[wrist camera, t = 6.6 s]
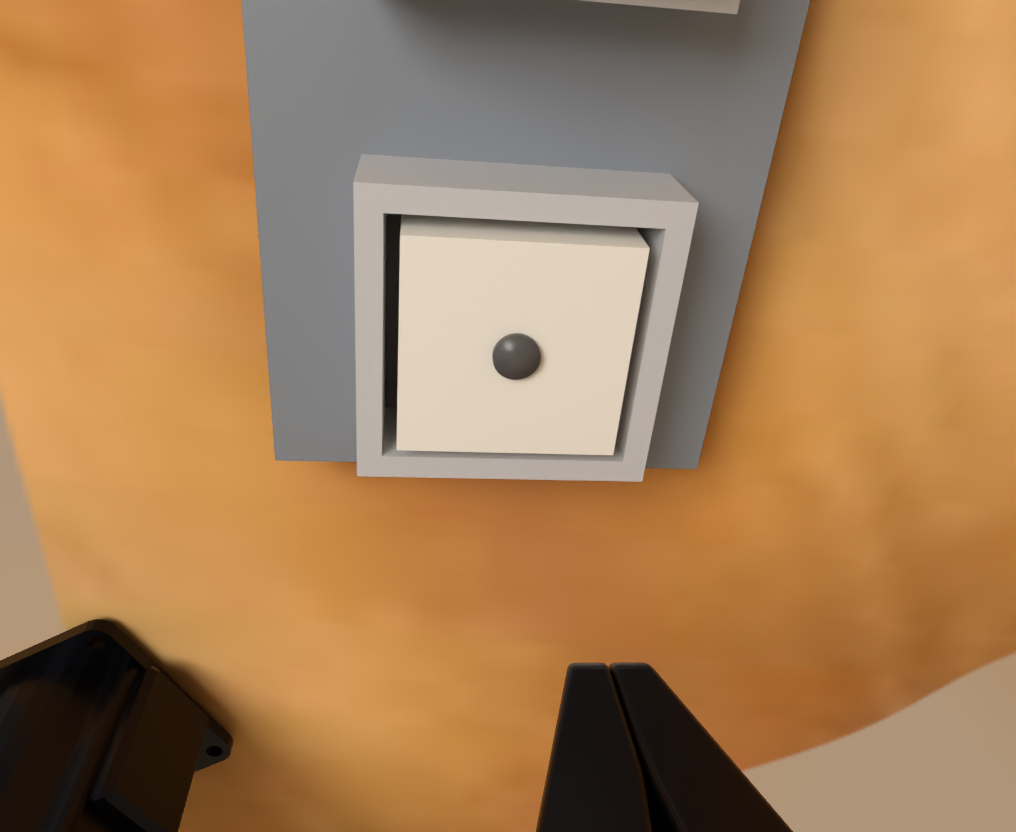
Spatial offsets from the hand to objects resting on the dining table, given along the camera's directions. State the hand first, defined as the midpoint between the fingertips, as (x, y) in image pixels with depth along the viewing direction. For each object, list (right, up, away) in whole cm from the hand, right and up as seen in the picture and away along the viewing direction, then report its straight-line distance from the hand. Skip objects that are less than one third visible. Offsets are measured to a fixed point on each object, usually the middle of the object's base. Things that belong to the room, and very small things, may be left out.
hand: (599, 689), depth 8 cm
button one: (-1, +5, +9) cm, 10 cm away
